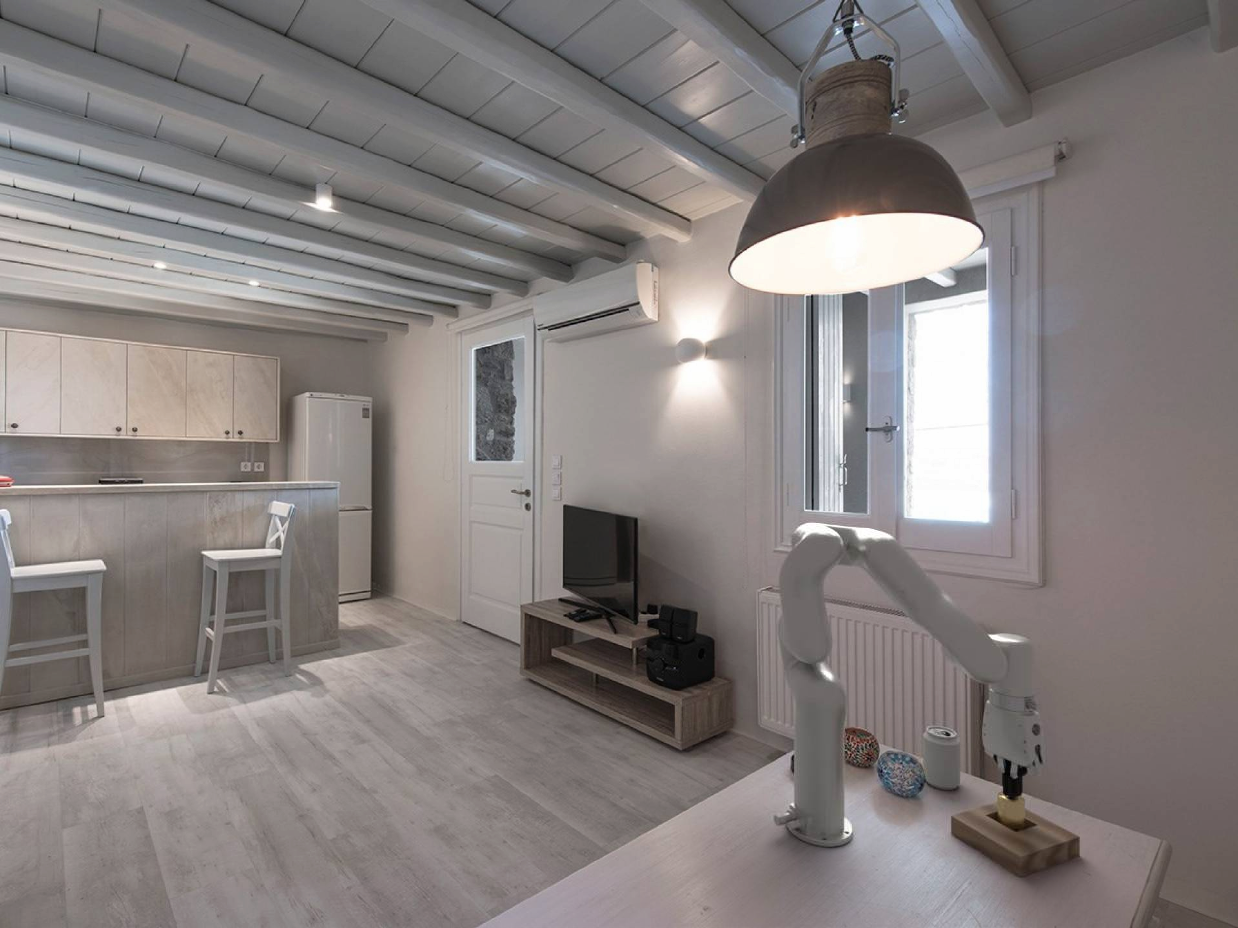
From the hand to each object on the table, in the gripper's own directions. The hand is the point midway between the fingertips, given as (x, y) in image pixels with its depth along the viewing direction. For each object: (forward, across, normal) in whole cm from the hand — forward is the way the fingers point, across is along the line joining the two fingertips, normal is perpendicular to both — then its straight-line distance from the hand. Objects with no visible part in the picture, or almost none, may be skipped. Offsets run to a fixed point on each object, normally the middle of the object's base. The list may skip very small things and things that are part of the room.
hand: (1012, 794), depth 120 cm
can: (+9, +21, -5) cm, 23 cm away
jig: (+8, -1, +2) cm, 9 cm away
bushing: (+8, 0, 0) cm, 8 cm away
